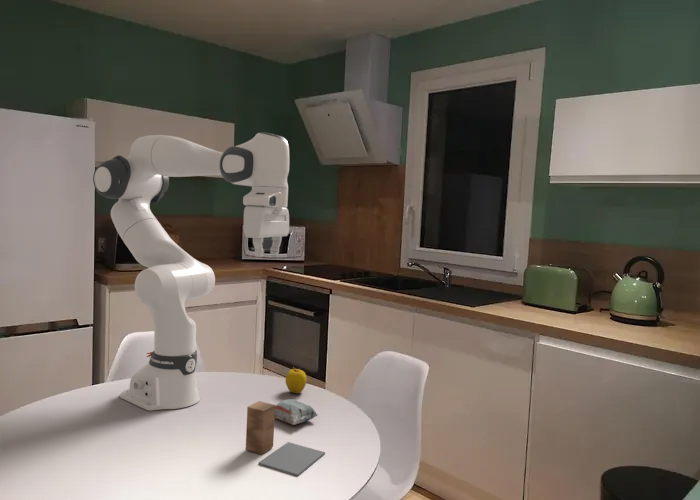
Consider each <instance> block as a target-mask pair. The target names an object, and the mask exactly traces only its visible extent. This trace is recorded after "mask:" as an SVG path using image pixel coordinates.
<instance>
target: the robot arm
mask: <svg viewBox="0 0 700 500" xmlns="http://www.w3.org/2000/svg"><path fill="white" fill-rule="evenodd" d="M289 172H290V146H289V143H288V140H287V139H286V138H285V137H284V136H281V135H278V134H274V133H270V132H264V131H263V132H262V131H261V132H258V133H256V134H255V136H254V137H252V138H251V139H249V140H248V141H246V142H244V143H241V144H237V145H234V146H233V145H232V146H229V147H227V148H226V149H225V150H224V151H218V150H215V149H212V148H209V147H206V146H204V145H201V144H198V143H196V142H193V141H191V140H188V139H185V138H183V137H179V136H174V135H168V134H167V135H165V134H153V135H152V134H151V135H145V136H140V137H137V138H136V139H135V140H134V142H132V144H131V147H130V151H129V155H128V156H125V157H124V156H122V155H119V154H118V155H115V157H112V158H110V159H107V160H105V161H103V162H100V163H99V164H98V165H97V166H96V168H95V170H94V172H93V175H92V182H93V185H94V188H95V191H96V192H97V194H99V195H100V196H102V197H105V198H106V199H111V200H118V201H116V202H115V203H114V204H113V206H112V207H111V209H110V218H111V220H112V223H113V224H114V225H113V226H114V228H115V229H116V232H117V234H118V235H119V237H120V238H121V240H122V241H123V243H124V244H125V246H126V247H127V248H128V250H129V252H130V253H131V254H132V257H134V259H135V260H136V262H137V263H139V264H140V265H142V266H143V267H146V268H145V269H143V270H141V271H140V272H139V273H138V274H137V276H136V278H135V281H134V293H135V295H136V297H137V298H138V300H139V301H140V302H141V303H142V304H143V305H145V306H146V307H147V309H148V310H149V312H150V315H151V318H152V322H153V329H154V332H153V333H154V338H153V339H154V342H153V343H154V347H153V349H154V350H153V351H150V352H147V353H146V358H149V361H148V363H147V364H146V365H144V366H143V367H142V368H140V369H138V371H136V372H134V373H133V374H132V376H131V377H130V380H129V381H130V382H129V387H128V388H127V389H125V390H123V391H122V392H121V393H120V396H119V398H121V399H122V400H125V401H126V402H128V403H131V404H133V405H135V406H138V407H139V408H141V409H144V410H146V411H148V412H149V411H159V410H177V409H182V408H186V407H190V406H192V405H195V404H198V402H199V401H201V400H200V399H201V397H200V394H199V393H200V392H199V388H198V381H197V369H196V367H197V363H198V351H197V350H198V349H196V348H197V347H196V346H197V324H196V322H195V320H193V319H192V318H191V317H190V316H188V314H187V310H186V305H185V303H186V302H189V301H196V300H198V299H201V298H203V297H205V296H206V295H208V294H210V293H211V292H212V291H213V290H214V288H215V285H216V276H215V273H214V271H213V269H212V267H210V266H209V265H208V264H206V263H203V262H201V261H199V260H197V259H196V258H194V257H193V256H192V255H190V254H189V253H188V252H187V251H185V250H184V249H183V248H182V247H180V246H179V245H178V244H177V243H176V242H175V241H174V240H173V239H172V238H171V236H170V235H169V234H168V232H167V231H166V230H165V228H164V227H163V226H162V224H161V223H160V222H159V221H158V218H157V217H156V216H155V215H154V214H153V212H152V210H151V207H150V206H155V205H157V204H158V203H159V202H160V199H161V198H163V197H164V195H166V193H167V191H168V189H169V186H170V185H169V184H170V178H171V177H173V178H182V177H183V178H185V177H198V176H199V177H200V176H221V177H222V178H223V179H224V181H226V182H227V183H231V184H232V185H236V186H237V185H239V186H246V187H251V190H250V192H248V193H247V194H245V195H244V196H243V198H242V204H243V206H245V207H244V210H243V233H244V236H245V238H250V239H251V238H252V245H253V247H254V256H255V257H258V258H262V257H264V255H265V249H264V248H263V243H264V238H271V241H272V244H271V246H270V249H269V250H270V251H269V253H270V255H278V254H279V253H280V247H281V243H282V239H283V237H287V236H289V233H290V213H289V209H288V200H289V199H288V198H289V184H288V176H289Z"/></svg>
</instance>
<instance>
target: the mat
mask: <svg viewBox="0 0 700 500" xmlns="http://www.w3.org/2000/svg"><path fill="white" fill-rule="evenodd" d="M324 455H326V452H325V451H322V450H319V449H318V450H317V449H314V448H311V447H308V446H305V445H304V446H303V445H300V444H298V443H293V442H291V441H290V442H288V441H287V442H286V443H285V444H282V446H280V447H278V449H276V450H274V451H273V452H271V453H270V454H269V455H267V456H266V457H265V458H263V459H261V460H260V461H259V462H258V463H257V464H258V465H260V466H263V467H267V468H269V469H273V470H276V471H279V472H283V473H286V474H289V475H293V476H296V477H299V476H300V475H301V474H303V473H304V472H305V471H306V470H308V469H309V468H310V467H311V466H313V464H315V463H316V462H317V461H318V460H320V459H321V458H322V457H323V456H324Z"/></svg>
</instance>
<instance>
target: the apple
mask: <svg viewBox="0 0 700 500" xmlns="http://www.w3.org/2000/svg"><path fill="white" fill-rule="evenodd" d="M292 367H293V368H292V369H289V370H288V372H287V374H286V376H285V384H286V387H287V389H288V391H289V392H291V393H293V394H301V393H302V392H303V390H304V389H305V387H306V384H307V380H308V378H307V374H306V372H305V371H304V370H301V369H300V368H295V367H294V366H292Z"/></svg>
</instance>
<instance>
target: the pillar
mask: <svg viewBox="0 0 700 500" xmlns="http://www.w3.org/2000/svg"><path fill="white" fill-rule="evenodd" d="M275 405H276V404H272V403H270V402H265V401H262V400H258V401H256V402H254V403H253V404H250V405H248V406H247V408H246V409H247V410H246V411H247V413H246V430H245V431H246V435H245V450H247V451H250V452H251V453H256V454H260V455H263V454H264V453H266V452H267V451H269V450H270V449H272V448H273V447H274V437H275V436H274V434H275V433H274V432H275V419H276V418H275Z"/></svg>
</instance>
